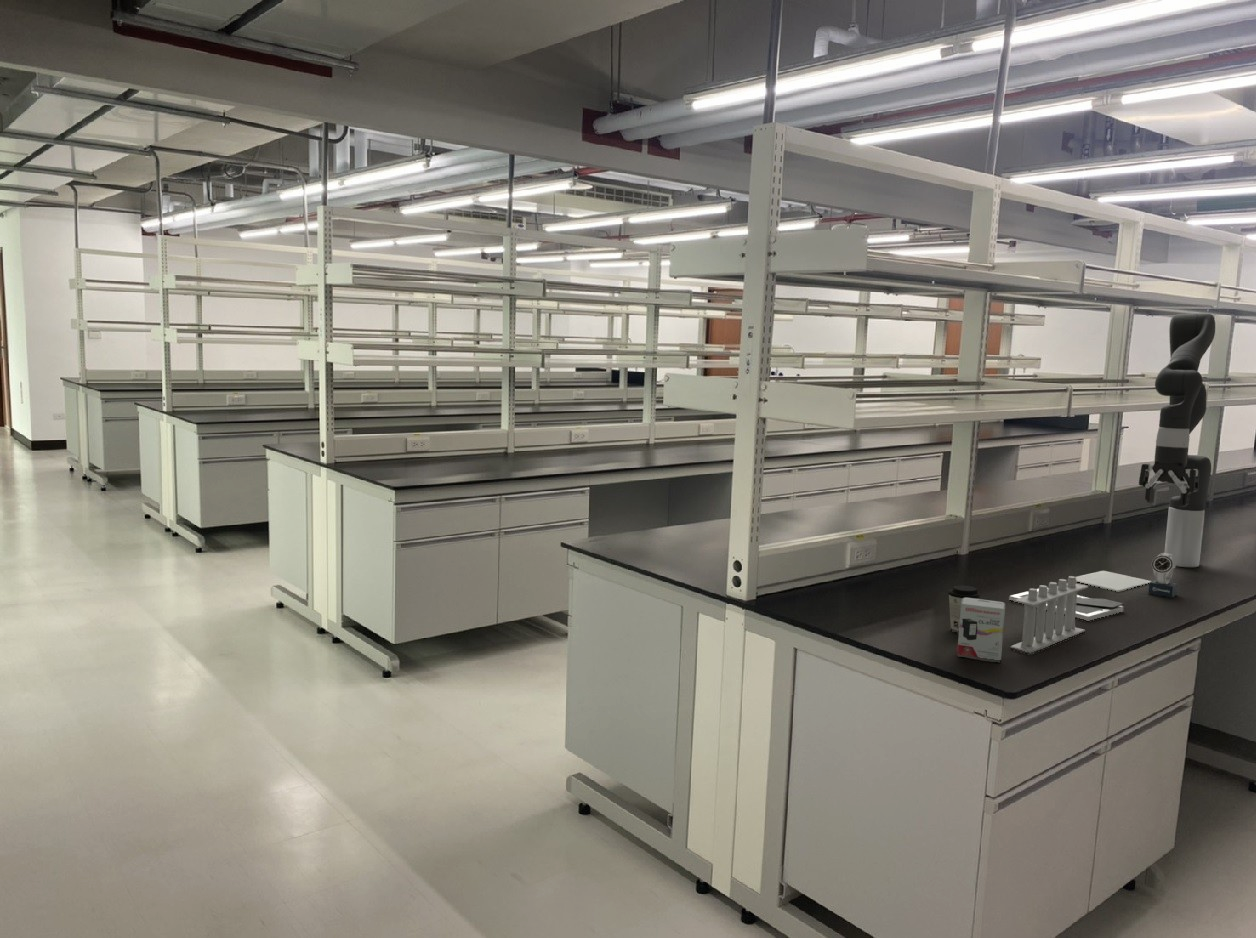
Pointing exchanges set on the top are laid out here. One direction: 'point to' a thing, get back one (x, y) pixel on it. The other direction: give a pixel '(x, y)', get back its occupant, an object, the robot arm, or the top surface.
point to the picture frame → (1086, 606)
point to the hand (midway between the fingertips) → (1166, 504)
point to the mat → (1111, 581)
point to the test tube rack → (1049, 614)
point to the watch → (1163, 576)
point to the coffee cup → (959, 602)
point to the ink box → (981, 628)
